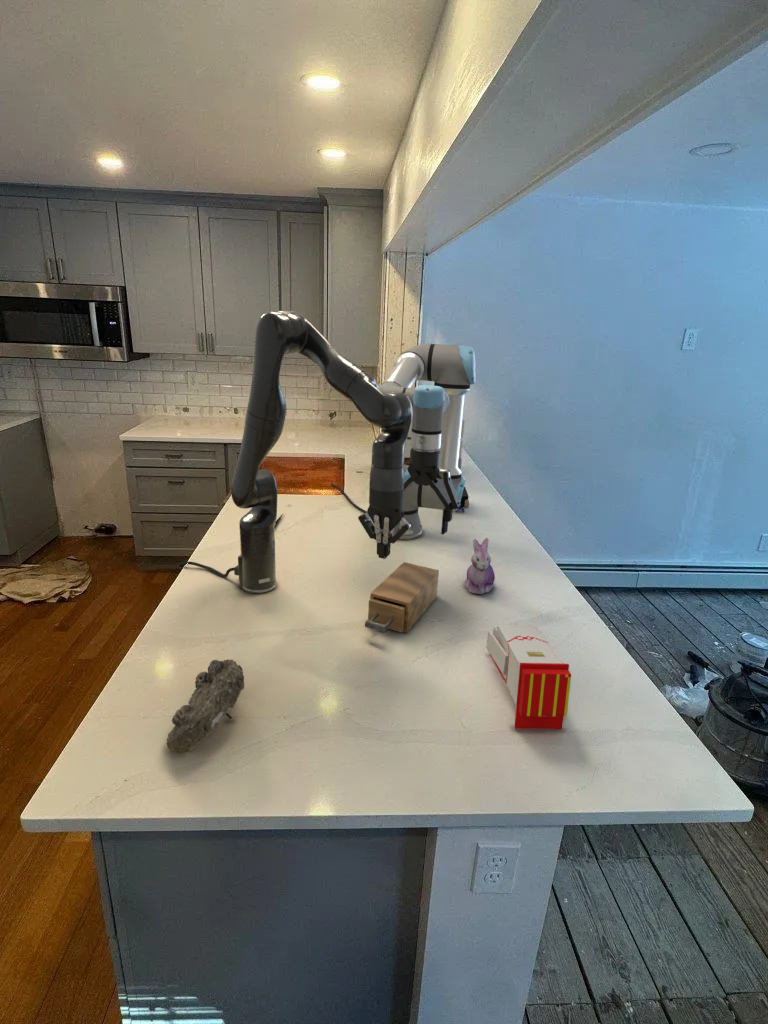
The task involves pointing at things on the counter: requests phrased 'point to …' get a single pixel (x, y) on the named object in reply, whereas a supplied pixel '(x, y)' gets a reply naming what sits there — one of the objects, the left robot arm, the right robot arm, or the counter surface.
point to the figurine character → (464, 500)
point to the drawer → (385, 615)
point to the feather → (278, 520)
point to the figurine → (480, 569)
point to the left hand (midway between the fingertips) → (383, 557)
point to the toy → (531, 675)
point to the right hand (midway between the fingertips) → (419, 527)
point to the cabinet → (409, 590)
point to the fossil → (206, 705)
